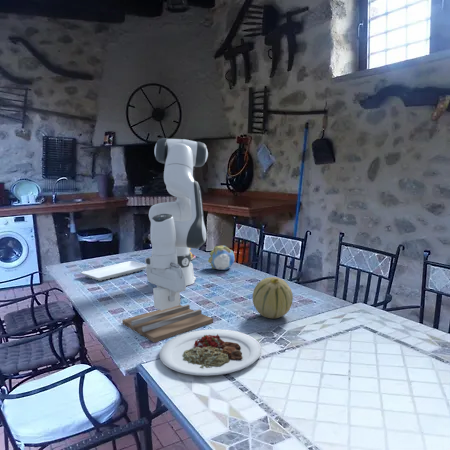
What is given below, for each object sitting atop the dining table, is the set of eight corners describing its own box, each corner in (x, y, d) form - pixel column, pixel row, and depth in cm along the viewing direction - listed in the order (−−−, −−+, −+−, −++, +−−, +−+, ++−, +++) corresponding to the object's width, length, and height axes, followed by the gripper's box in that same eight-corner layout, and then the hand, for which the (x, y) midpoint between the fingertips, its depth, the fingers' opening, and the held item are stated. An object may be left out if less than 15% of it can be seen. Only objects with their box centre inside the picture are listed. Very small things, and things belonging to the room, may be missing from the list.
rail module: (154, 307, 148) (153, 288, 147) (174, 301, 154) (173, 283, 153) (161, 310, 145) (159, 290, 144) (181, 304, 150) (180, 285, 150)
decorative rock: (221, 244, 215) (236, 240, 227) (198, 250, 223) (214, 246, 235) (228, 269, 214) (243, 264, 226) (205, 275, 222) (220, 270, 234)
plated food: (188, 393, 105) (188, 380, 104) (144, 350, 130) (143, 339, 129) (282, 360, 120) (282, 349, 120) (226, 327, 145) (226, 318, 145)
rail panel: (122, 324, 151) (122, 316, 151) (178, 307, 166) (178, 300, 166) (154, 342, 134) (153, 333, 134) (213, 322, 150) (212, 314, 149)
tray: (149, 270, 228) (149, 264, 227) (98, 284, 205) (97, 277, 204) (131, 266, 239) (131, 260, 238) (80, 278, 216) (79, 272, 215)
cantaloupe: (270, 307, 164) (269, 269, 161) (301, 316, 153) (301, 276, 151) (244, 317, 153) (243, 277, 151) (275, 328, 143) (275, 285, 141)
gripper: (189, 263, 141) (191, 303, 143) (157, 255, 157) (159, 291, 159) (173, 267, 137) (175, 308, 139) (142, 258, 153) (144, 295, 155)
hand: (166, 299), depth 149 cm, fingers closed on rail module, 4 cm apart
